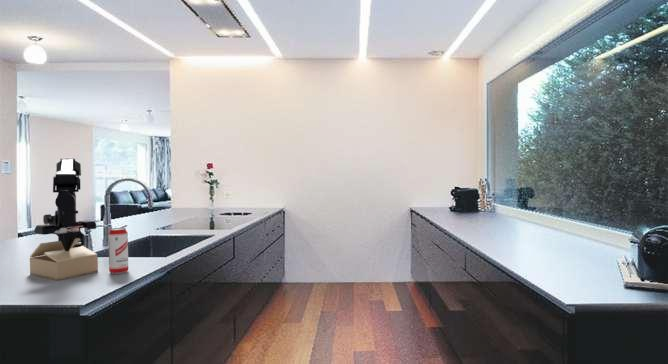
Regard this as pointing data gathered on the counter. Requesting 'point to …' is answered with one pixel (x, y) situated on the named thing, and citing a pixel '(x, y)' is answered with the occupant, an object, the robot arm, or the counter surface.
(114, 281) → the counter surface
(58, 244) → the flap
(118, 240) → the beer can
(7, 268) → the counter surface
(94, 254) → the flap
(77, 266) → the cardboard box
